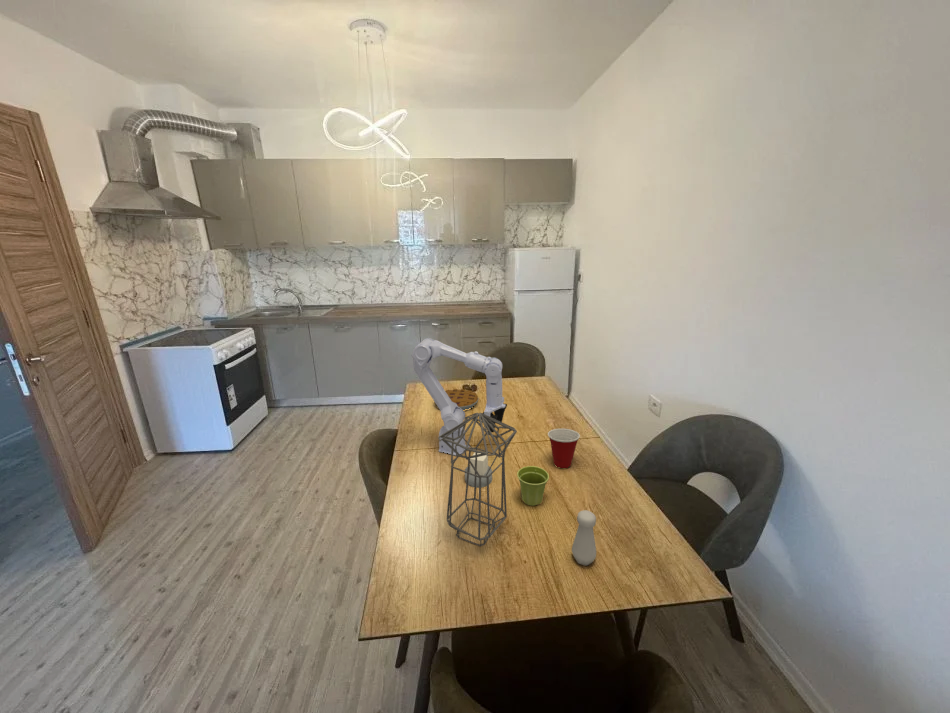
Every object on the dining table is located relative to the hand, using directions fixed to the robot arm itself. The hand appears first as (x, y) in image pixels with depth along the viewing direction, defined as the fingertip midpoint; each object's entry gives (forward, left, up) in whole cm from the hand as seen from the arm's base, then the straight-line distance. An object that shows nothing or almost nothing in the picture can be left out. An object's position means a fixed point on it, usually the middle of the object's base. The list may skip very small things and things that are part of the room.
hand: (495, 427), depth 139 cm
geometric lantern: (+12, -40, -11) cm, 43 cm away
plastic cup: (+25, +2, -11) cm, 27 cm away
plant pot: (+21, -21, -11) cm, 31 cm away
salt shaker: (+39, -38, -11) cm, 55 cm away
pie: (-34, +35, -11) cm, 50 cm away
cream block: (+2, -18, -7) cm, 20 cm away
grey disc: (+1, -18, -11) cm, 21 cm away
